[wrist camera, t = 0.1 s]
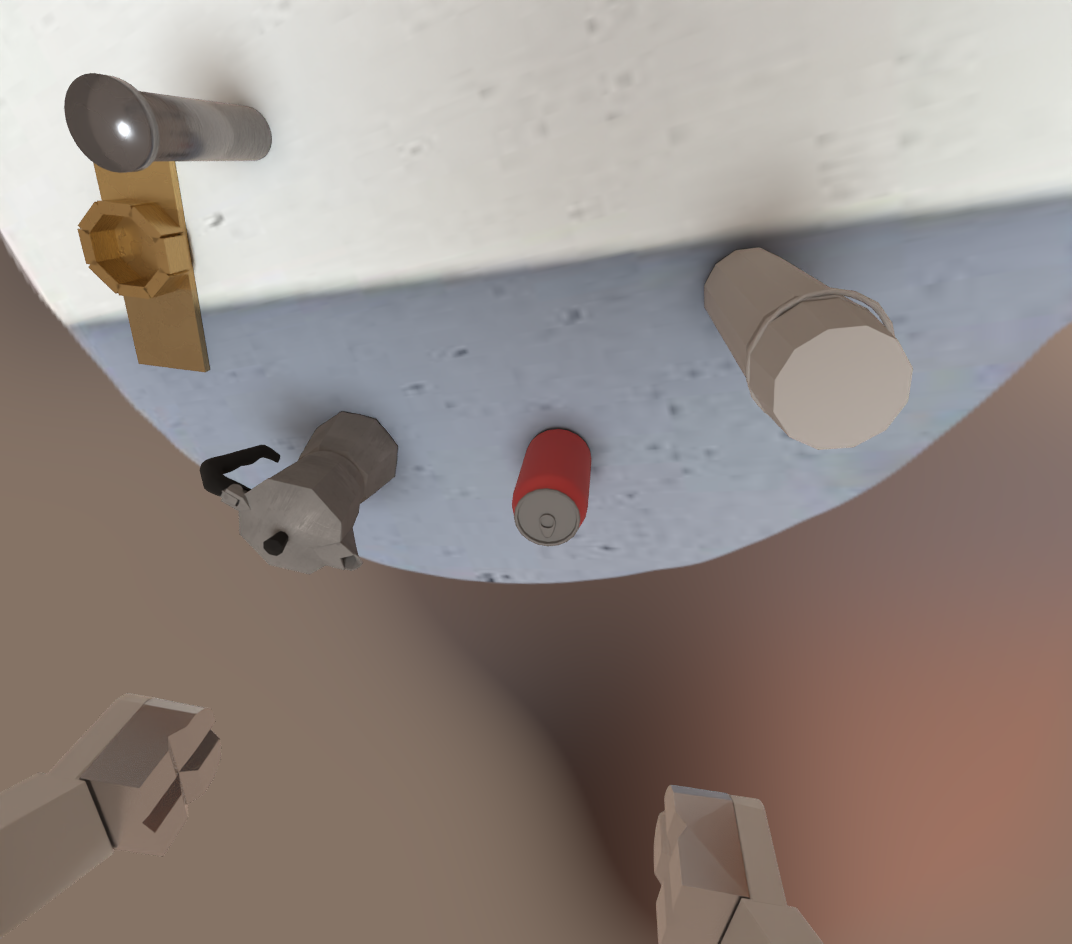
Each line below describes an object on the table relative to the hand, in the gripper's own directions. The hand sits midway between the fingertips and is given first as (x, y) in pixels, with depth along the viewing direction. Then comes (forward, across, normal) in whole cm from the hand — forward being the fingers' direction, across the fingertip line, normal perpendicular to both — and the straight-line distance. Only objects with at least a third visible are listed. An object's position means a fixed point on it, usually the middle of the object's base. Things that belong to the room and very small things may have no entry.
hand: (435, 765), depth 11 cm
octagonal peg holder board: (+48, +40, +2) cm, 62 cm away
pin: (+48, +29, -9) cm, 57 cm away
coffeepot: (+48, +22, +19) cm, 56 cm away
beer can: (+48, 0, +17) cm, 51 cm away
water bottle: (+48, -15, -1) cm, 50 cm away
